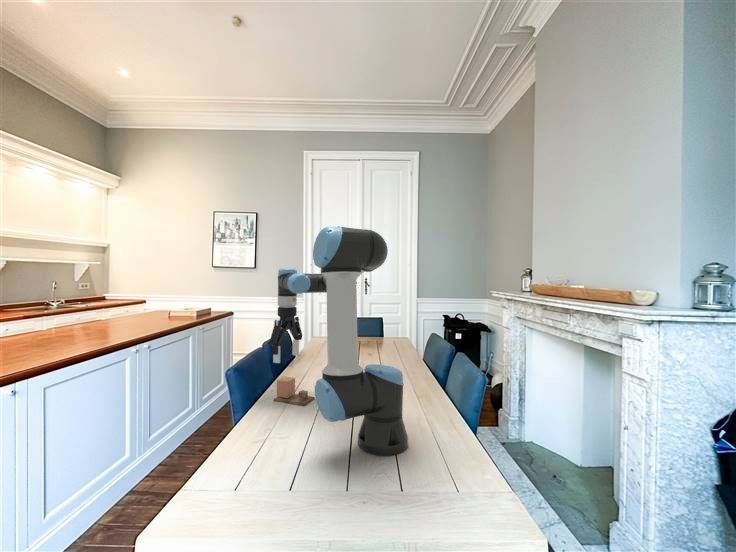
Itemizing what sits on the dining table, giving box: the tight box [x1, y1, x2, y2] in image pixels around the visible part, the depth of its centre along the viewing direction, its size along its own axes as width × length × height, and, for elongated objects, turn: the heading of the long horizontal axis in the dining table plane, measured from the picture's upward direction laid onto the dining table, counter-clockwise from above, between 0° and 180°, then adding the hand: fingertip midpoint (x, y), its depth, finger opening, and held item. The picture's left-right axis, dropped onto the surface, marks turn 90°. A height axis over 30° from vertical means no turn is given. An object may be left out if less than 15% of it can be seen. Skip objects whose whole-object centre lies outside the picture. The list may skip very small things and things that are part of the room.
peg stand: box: [273, 389, 316, 407], centre depth 139 cm, size 14×8×8 cm, turn 69°
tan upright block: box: [276, 376, 296, 398], centre depth 140 cm, size 5×5×7 cm
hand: (286, 358), depth 140 cm, fingers open, 13 cm apart
